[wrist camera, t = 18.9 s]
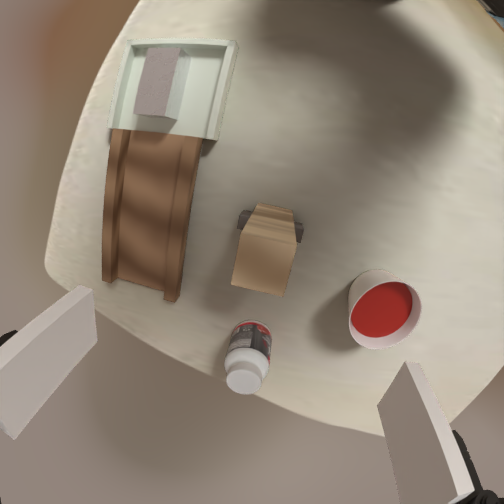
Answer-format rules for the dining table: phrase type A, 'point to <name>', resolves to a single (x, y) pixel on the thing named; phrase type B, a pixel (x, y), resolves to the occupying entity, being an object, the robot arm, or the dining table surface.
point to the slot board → (148, 208)
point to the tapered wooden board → (266, 249)
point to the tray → (195, 94)
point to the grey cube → (166, 65)
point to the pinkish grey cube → (158, 99)
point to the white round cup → (382, 309)
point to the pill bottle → (248, 357)
